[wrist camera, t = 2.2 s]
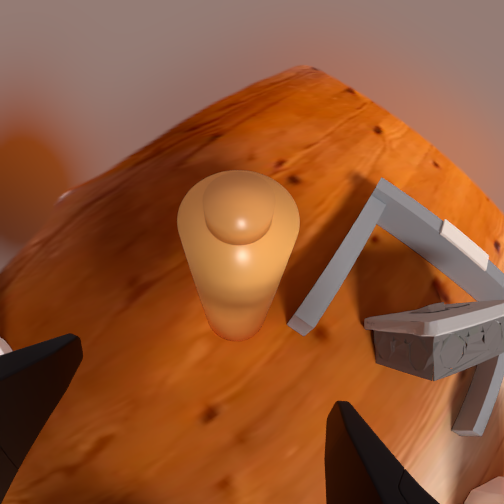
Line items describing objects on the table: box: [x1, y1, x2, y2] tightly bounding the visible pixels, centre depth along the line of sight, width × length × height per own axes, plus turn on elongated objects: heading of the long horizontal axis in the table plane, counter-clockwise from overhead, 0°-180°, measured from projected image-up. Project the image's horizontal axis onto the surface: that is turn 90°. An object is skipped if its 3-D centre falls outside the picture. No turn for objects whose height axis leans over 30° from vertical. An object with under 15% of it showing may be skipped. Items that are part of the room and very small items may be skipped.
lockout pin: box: [177, 170, 300, 341], centre depth 16 cm, size 4×4×14 cm
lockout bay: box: [287, 178, 504, 436], centre depth 21 cm, size 15×20×4 cm
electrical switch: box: [364, 300, 504, 381], centre depth 18 cm, size 9×5×9 cm, turn 94°
